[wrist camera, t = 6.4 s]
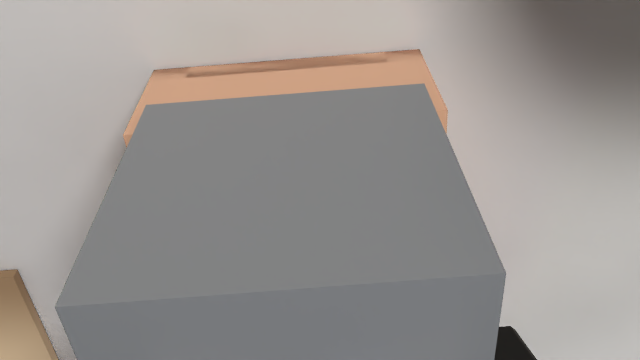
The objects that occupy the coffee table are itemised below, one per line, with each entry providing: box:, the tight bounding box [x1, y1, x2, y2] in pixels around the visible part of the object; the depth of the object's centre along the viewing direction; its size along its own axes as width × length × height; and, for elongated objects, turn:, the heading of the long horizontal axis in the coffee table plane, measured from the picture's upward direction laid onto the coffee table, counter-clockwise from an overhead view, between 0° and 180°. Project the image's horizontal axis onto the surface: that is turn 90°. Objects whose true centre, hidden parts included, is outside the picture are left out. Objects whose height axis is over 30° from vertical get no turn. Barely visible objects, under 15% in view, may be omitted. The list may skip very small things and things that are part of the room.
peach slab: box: [123, 49, 448, 147], centre depth 15 cm, size 9×6×3 cm, turn 4°
